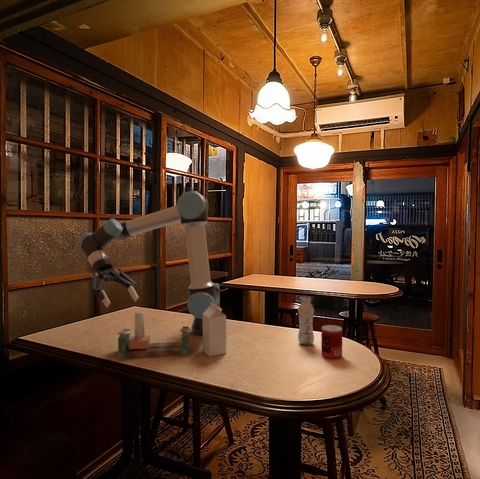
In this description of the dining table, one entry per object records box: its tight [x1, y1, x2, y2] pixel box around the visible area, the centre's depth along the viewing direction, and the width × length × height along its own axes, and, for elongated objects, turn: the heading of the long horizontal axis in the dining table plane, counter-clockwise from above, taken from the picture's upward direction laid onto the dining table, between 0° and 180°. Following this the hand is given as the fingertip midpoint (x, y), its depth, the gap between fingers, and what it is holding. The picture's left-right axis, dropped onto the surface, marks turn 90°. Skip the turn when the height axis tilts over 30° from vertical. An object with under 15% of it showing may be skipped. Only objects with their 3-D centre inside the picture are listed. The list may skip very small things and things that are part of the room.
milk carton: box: [202, 303, 227, 357], centre depth 138 cm, size 7×7×19 cm
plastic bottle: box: [297, 295, 315, 346], centre depth 148 cm, size 6×7×20 cm
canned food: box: [320, 324, 343, 361], centre depth 134 cm, size 8×8×11 cm
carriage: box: [129, 311, 151, 349], centre depth 138 cm, size 7×7×13 cm
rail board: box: [117, 326, 191, 360], centre depth 139 cm, size 28×12×8 cm, turn 99°
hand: (123, 302), depth 143 cm, fingers open, 13 cm apart
